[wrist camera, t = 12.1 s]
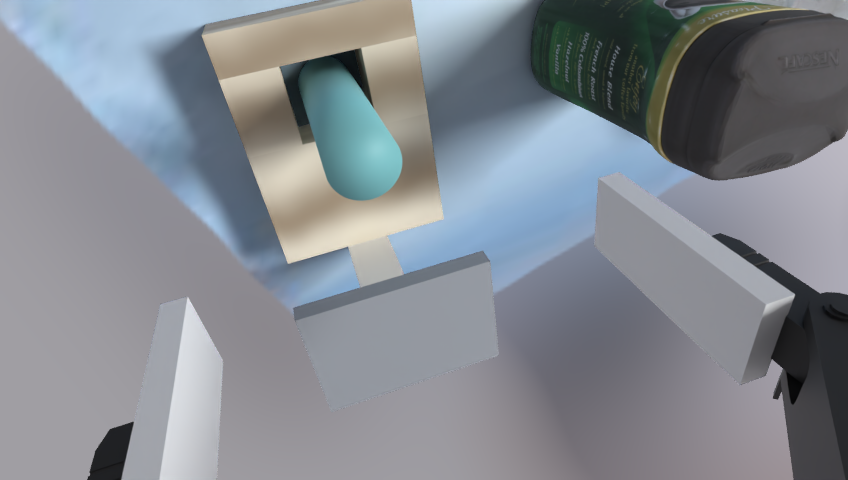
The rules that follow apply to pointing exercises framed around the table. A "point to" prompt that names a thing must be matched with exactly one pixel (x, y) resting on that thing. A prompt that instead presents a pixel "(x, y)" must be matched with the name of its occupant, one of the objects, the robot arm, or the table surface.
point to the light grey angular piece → (398, 324)
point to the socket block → (295, 145)
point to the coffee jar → (702, 77)
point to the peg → (348, 132)
